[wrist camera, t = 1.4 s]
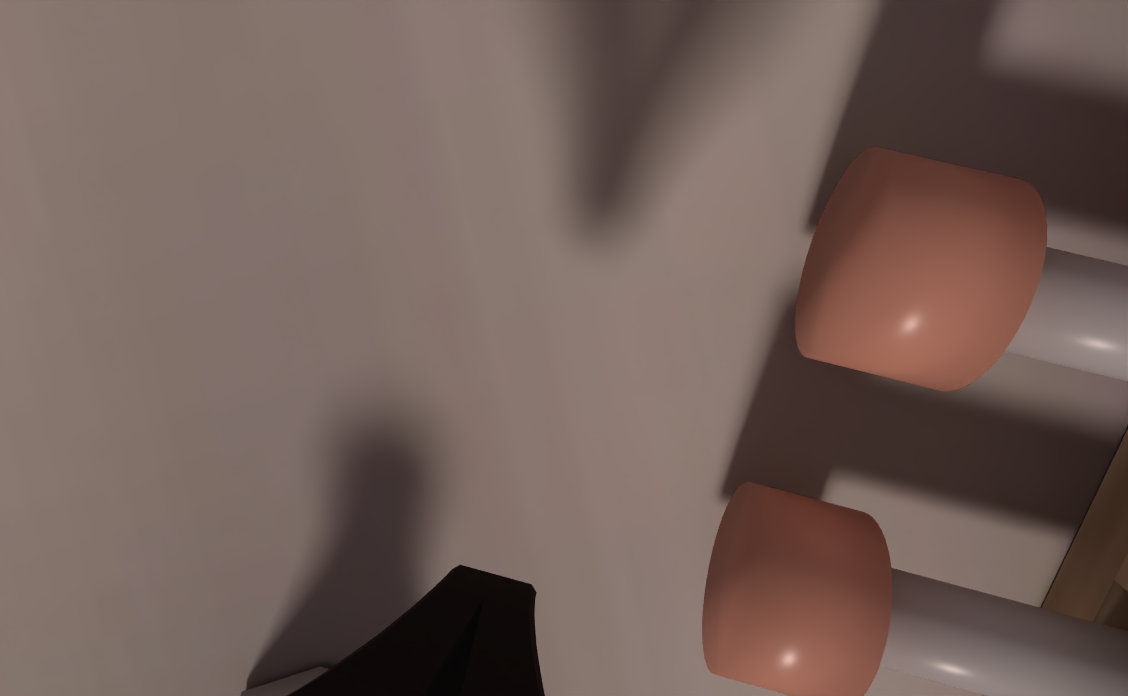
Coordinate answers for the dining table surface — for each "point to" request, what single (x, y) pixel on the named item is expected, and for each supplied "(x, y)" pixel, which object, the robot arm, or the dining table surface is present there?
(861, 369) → the knob
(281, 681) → the flask
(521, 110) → the dining table surface
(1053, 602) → the mount
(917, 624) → the knob
